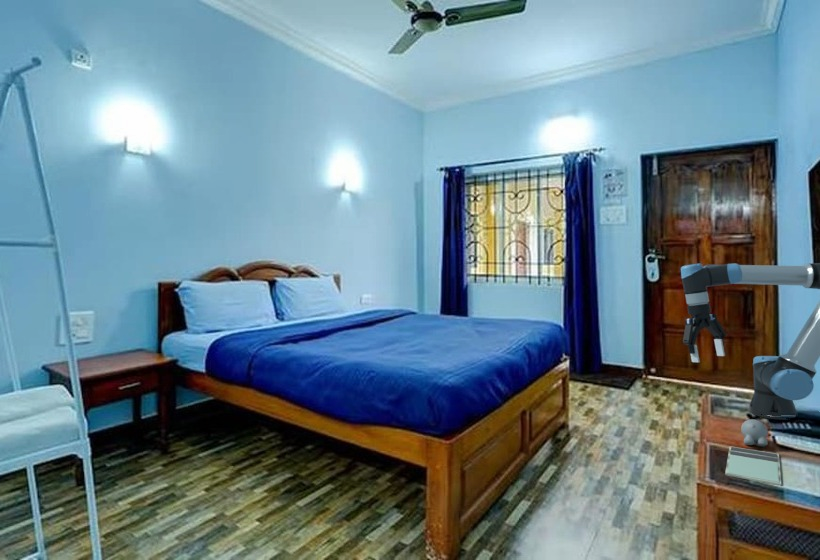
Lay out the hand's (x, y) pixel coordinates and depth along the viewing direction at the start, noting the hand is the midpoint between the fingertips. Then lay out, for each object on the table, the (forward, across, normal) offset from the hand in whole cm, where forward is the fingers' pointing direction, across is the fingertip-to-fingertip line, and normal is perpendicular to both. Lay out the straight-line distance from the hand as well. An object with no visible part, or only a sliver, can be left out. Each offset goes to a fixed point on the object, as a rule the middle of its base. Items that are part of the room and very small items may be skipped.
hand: (708, 359), depth 182 cm
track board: (+27, +24, +28) cm, 46 cm away
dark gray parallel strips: (+26, +18, +24) cm, 40 cm away
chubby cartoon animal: (+27, +8, +17) cm, 33 cm away
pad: (+27, +28, +30) cm, 49 cm away
